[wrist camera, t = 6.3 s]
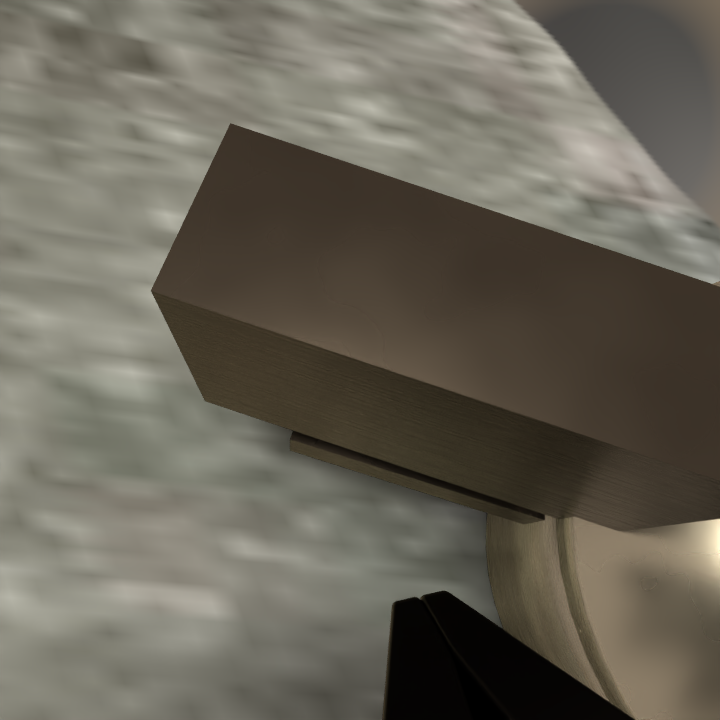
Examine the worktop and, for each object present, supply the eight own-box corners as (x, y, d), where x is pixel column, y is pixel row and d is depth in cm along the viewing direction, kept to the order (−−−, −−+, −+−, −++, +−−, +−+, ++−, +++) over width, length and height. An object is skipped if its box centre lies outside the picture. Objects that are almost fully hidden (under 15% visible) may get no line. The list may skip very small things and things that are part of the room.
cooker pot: (869, 428, 23) (1057, 381, 18) (861, 839, 19) (1106, 953, 13) (358, 265, 23) (381, 165, 17) (233, 640, 19) (207, 669, 13)
